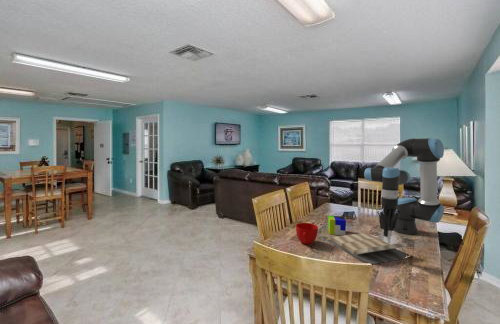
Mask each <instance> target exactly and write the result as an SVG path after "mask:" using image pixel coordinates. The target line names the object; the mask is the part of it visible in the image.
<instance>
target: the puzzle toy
mask: <svg viewBox="0 0 500 324" xmlns="http://www.w3.org/2000/svg"><path fill="white" fill-rule="evenodd" d="M327 220H328V221H327V232H328V234H329V235H330V236H331V235H332V236H344V235H346V231H347V230H346V228H347V226H346V225H347V220H346V219H345V216H344V215H343V216H341V215H340V216H339V215H328V217H327Z"/></svg>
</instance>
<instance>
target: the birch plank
mask: <svg viewBox="0 0 500 324" xmlns="http://www.w3.org/2000/svg"><path fill="white" fill-rule="evenodd" d="M390 244H391V243H390ZM404 247H408V243H407V242H399V243H392V244H391V245H384V246H378V247H371V248H365V249H360V250H355V253H356V254H363V253H369V252H376V251H382V250H389V249H400V248H404Z"/></svg>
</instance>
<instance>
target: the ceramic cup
mask: <svg viewBox="0 0 500 324" xmlns="http://www.w3.org/2000/svg"><path fill="white" fill-rule="evenodd" d="M318 230H319V226H318V225H316V224H314V223H310V222H299V223H297V224H295V231H296V232H295V233H296V236H297V238H298V240H299V241H300V243H301V244H304V245H312V244H313V243H314V242H315V240H316V239H317V237H318V233H319V231H318Z"/></svg>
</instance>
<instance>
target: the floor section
mask: <svg viewBox="0 0 500 324" xmlns="http://www.w3.org/2000/svg"><path fill="white" fill-rule="evenodd" d="M327 242H329V244H332V245H333V246H335V247H337V248H338V249H340V250H342V251H343V252H345V253H346V254H348V255H350V256H352V257H353V258H355V259H356V260H357V261H359V262H361V263H363V264H364V263H371V264H373V265H378V264H377V263H379V264H383V263H382V262H384V263H389V262H388V261H390V262H394V261H393V260H396V261H399V260H398V259H402V260H404V259H403V258H405V257H406V255H407V256H409V255H410V254H409V253H407V252H404V251H401V250H400V249H398V248H395V249H389V250H382V251H376V252H369V253H363V254H356V253H355V250H360V249H365V248H371V247H378V246H384V245H391V243H386V242H384V240H382V239H380V238H377V237H375V236H373V235H371V234H368V233H367V232H361V233H354V234H353V233H352V234H345V235H344V236H343V235H335V236H331V237H330V239H327ZM410 257H413V256H412V255H410ZM413 258H414V257H413Z"/></svg>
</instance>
